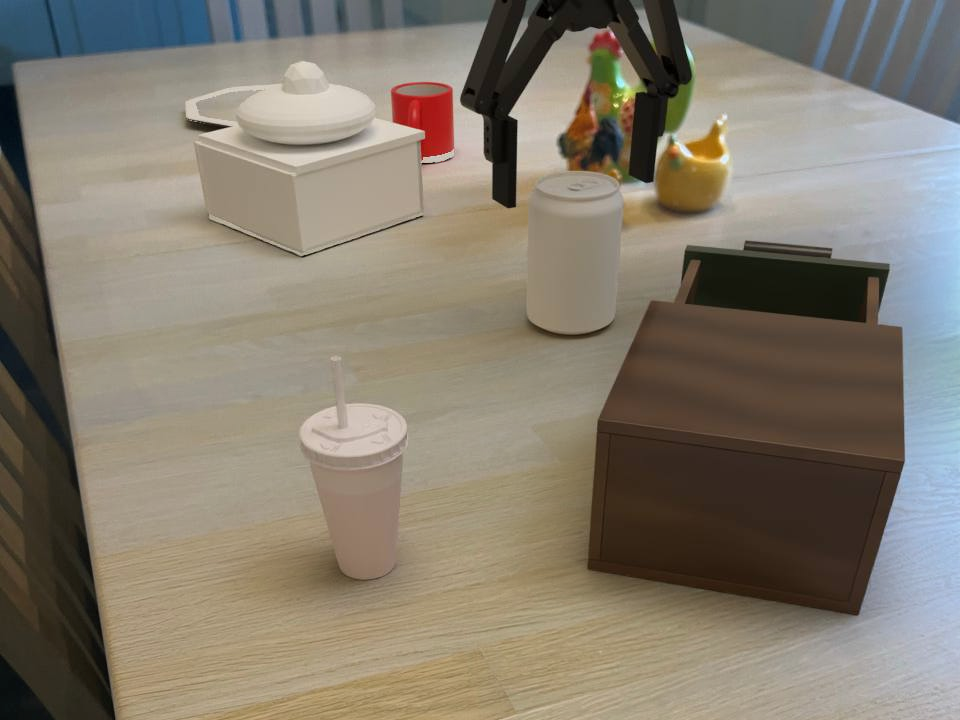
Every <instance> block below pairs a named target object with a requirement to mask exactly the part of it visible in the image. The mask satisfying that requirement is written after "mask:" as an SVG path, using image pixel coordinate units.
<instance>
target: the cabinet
mask: <svg viewBox="0 0 960 720" xmlns="http://www.w3.org/2000/svg"><path fill="white" fill-rule="evenodd" d="M903 337H904V336H903V326H897V325H890V324H889V325H887V324H879V323H878V324H870V323H861V322H851V321H842V320H832V319H823V318H814V317H804V316H795V315H785V314H776V313H766V312H757V311H748V310H738V309H729V308H719V307H710V306H701V305H691V304H682V303H674V302H671V301H662V300H650V301H649V303H648V305H647V308H646V310H645V312H644V315H643V317H642V319H641V321H640V324H639V326H638V329H637V330H636V333H635V335H634V337H633V339H632V342H631V343H630V346H629V348H628V351H627V353H626V355H625V357H624V359H623V361H622V364H621V366H620V369H619V371H618V373H617V375H616V377H615V379H614V382H613V384H612V387H611V389H610V391H609V394H608V396H607V398H606V400H605V402H604V404H603V407H602V409H601V411H600V414H599V415H598V417H597V423H596V436H595V451H594V466H593V477H592V478H593V480H592V493H591V508H590V509H591V510H590V523H589V537H588V549H587V564H586V568H587V569H588V570H592V571H598V572H604V573H610V574H615V575H622V576H628V577H633V578H638V579H639V578H640V579H645V580H652V581H657V582H664V583H669V584H673V585H674V584H675V585H681V586H686V587H693V588H697V589H703V590H710V591H716V592H720V593H721V592H722V593H727V594H732V595H740V596H744V597H745V596H746V597H751V598H757V599H763V600H769V601H775V602H781V603H787V604H792V605H797V606H798V605H799V606H802V607H803V606H804V607H810V608H816V609H821V610H828V611H832V612H833V611H834V612H839V613H845V614H851V615H857V616H858V615H860V613H861V609H862V606H863V602H864V599H865V595H866V593H867V589H868V586H869V583H870V579H871V576H872V573H873V571H874V566H875V563H876V559H877V556H878V554H879V549H880V546H881V543H882V539H883V536H884V532H885V530H886V527H887V522H888V520H889V516H890V513H891V510H892V505H893V503H894V499H895V496H896V493H897V490H898V487H899V483H900V480H901V476H902V472H903V470H904V466H905V464H906V445H905V444H906V443H905V442H906V440H905V439H906V438H905V393H904V391H905V389H904V342H903V341H904V338H903Z"/></svg>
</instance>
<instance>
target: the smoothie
mask: <svg viewBox="0 0 960 720" xmlns="http://www.w3.org/2000/svg"><path fill="white" fill-rule="evenodd" d="M330 366H331V373H332V374H331V375H332V383H333V390H334V399H335V400H334V401H335V405H334V406H331V407H327V408H324V409H322V410H319V411H317V412H315V413H314V414H312V415H310V416H309V417H308V418H307V419H305V420H304V422H303V423H302V424H301V426H300V428H299V431H298V435H299V436H298V437H299V448H300V453H301V454H302V455H303V457H304V458H305V459H306V460H307V461H308V462H309V465H310V466H309V468H310V470H311V474H312V478H313V480H314V484H315V487H316V491H317V495H318V499H319V501H320V505H321V508H322V512H323V516H324V519H325V522H326V523H325V524H326V526H327V528H328V533H329V537H330V540H331V544H332V547H333V551H334V555H335V557H336V561H337V565H338V568H339V570H340V572H341V573H343V575H345V576H346V577H349V578H351V579H354V580H361V581H363V580H365V581H366V580H375V579H378V578H381V577H384V576H385V575H387V574H389V573H390V572H391V571H393V569H394V568H395V567H396V565H397V552H398V539H399V538H398V537H399V523H400V508H401V491H402V474H403V464H404V463H403V461H404V452H405V451H406V450H407V449H408V447H409V442H410V437H409V433H408V424H407V422H406V420H405V418H404V417H403V416H402V415H401V414H400V413H399V412H397V411H395V410H394V409H391V408H389V407H387V406H384V405H378V404H374V403H364V402H363V403H362V402H361V403H360V402H358V403H356V402H355V403H354V402H353V403H347V402H346V394H345V386H344V377H343V366H342V358H341V357H340V356H338V355H336V356H335V355H334V356H331V357H330Z"/></svg>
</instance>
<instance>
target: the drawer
mask: <svg viewBox="0 0 960 720" xmlns="http://www.w3.org/2000/svg"><path fill="white" fill-rule="evenodd" d="M832 254H833V247H824V246H815V245H814V246H813V245H802V244H790V243H781V242H770V241H758V240H747V239H745V240H744V244H743V249H734V248H725V247H724V248H723V247H713V246H702V245H691V244H687V245H686V246H685V249H684V253H683V261H682V262H683V263H682V270H681V279H680V285H679V289H678V291H677V293H676V296H675V299H674V301H673V303H682V304H691V305H701V306H710V307H719V308H729V309H738V310H748V311H757V312H766V313H776V314H785V315H795V316H804V317H814V318H823V319H832V320H842V321H851V322H861V323H870V324H879V313H880V309H881V306H882V301H883V299H884V295H885V294H884V293H885V290H886V286H887V282H888V278H889V273H890V268H891V267H890V265H891V264H890V263H885V262H876V261H864V260H854V259H842V258H832Z"/></svg>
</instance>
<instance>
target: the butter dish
mask: <svg viewBox="0 0 960 720" xmlns="http://www.w3.org/2000/svg"><path fill="white" fill-rule="evenodd" d="M281 84H282V85H280V86H276V87H272V88H268V89H265V90H263V91H260V92H258V93H256V94H254V95H252V96H250V97H249V98H247V99H246V100H245V101H244V102H242V103H241V104H240V106H239V107H238V109H237V112H236V120H237V122H238V124H239V125H237V126H233V127H229V128H225V127H223V128H220V129H216V130H213V131H208V132H204V133H200V134H198V135H197V136H198V140H197V141H196V140H195V141H194V142H193V146H194V151H195V152H194V153H195V157H196V162H197V168H198V173H199V179H200V184H201V189H202V194H203V200H204V206H205V210H206V211H205V212H206V213H208V214H211V215H213V216H215V217H218V218H220V219H222V220H225V221H227V222H230V223H232V224H234V225H236V226H238V227H240V228H242V229H244V230H247V231H250V232H252V233H254V234H256V235H258V236H260V237H262V238H265V239H268V240H270V241H273V242H275V243H277V244H280V245H282V246H285V247H287V248H290V249H292V250H295V251H298V252H300V253H304V252H307V251H309V250H312V249H315V248H318V247H322V246H325V245H328V244H331V243H335V242H337V241H341V240H344V239H347V238H350V237H352V236H356V235H359V234H362V233H364V232H368V231H371V230H375V229H377V228H379V227H383V226H386V225H389V224H391V223H394V222H397V221H400V220H403V219H406V218H408V217H411V216H414V215H418V214H420V213H423V212H424V213H425V207H424V206H425V205H424V186H423V184H424V183H423V166H422V165H423V164H422V163H421V142H420V140H422V139H425V131H422V130H418V129H415V128H411V127H407V126H403V125H400V124H396V123H393V121H388V120H384V119H380V118H378V117H376V115H377V107H376V104H375V103H374V101H373V100H372V99H371V98H370V97H369V96H368V95H366V94H365V93H363V92H361V91H359V90H357V89H355V88H351V87H348V86H345V85H342V84H336V83H329V81H328V79H327V77H326V73H325V72H324V71H323V70H322V69H321V68H320V67H319V66H318V65H317V64H316V63H314V62H310V61H306V60H300V61H298V62H294V63H293V64H290V65H289V66H288V67H287V70H286V71H285V73H284V74H283V76H282V82H281ZM208 214H207V215H208Z"/></svg>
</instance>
